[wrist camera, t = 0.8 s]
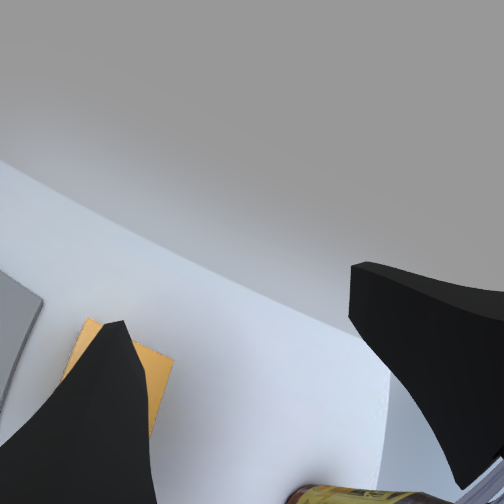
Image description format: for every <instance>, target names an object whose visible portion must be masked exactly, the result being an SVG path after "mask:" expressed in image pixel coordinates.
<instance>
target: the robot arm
mask: <svg viewBox="0 0 504 504" xmlns="http://www.w3.org/2000/svg"><path fill="white" fill-rule="evenodd" d="M348 317H349V319H350V320H351V322H352V323H353V325H354V326H355V328H356V330H357V331H358V333H359V334H360V336H361V337H362V339H363V340H364V341H365V342H366V343H367V345H368V346H369V347H370V348H371V349H372V350H373V351H374V353H375V354H376V355H377V356H378V357H379V358H380V359H381V360H382V361H383V363H384V364H385V365H386V366H387V367H388V368H389V369H390V370H391V372H392V373H393V374H394V375H395V376H396V377H397V378H398V379H399V381H401V383H402V384H403V385H404V387H405V388H406V389H407V390H408V392H409V393H410V395H411V396H412V398H413V399H414V401H415V402H416V404H417V405H418V407H419V408H420V410H421V411H422V413H423V415H424V417H425V418H426V420H427V422H428V423H429V425H430V427H431V428H432V430H433V432H434V434H435V436H436V438H437V440H438V442H439V444H440V446H441V448H442V450H443V452H444V454H445V456H446V459H447V461H448V464H449V466H450V468H451V471H452V473H453V476H454V479H455V482H456V483H457V485H458V486H459V487H460V489H461V490H464V489H465V488H466V487H468V486H469V485H470V484H471V483H472V482H474V481H475V480H476V479H477V478H478V477H479V476H480V475H482V474H483V473H484V472H485V471H486V470H487V469H488V468H489V467H490V466H491V465H492V464H493V463H494V462H495V461H496V460H497V459H498V458H499V457H500V456H501V457H502V458H503V460H502V462H500V463H499V464H498V465H497V466H496V467H495V468H494V469H493V470H492V471H491V472H490V473H489V474H488V475H487V476H486V477H485V478H484V479H483V480H481V481H480V482H479V483H478V484H477V485H476V486H475V487H474V488H472V489H471V490H470V491H469V492H468V493H466V494H465V495H464V496H463V497H462V498H460V499H459V500H458V501H456V502H455V503H454V504H486V503H487V502H488V501H489V500H490V499H491V498H492V497H493V496H494V495H495V494H497V493H498V492H499V491H500V489H502V488H503V486H504V292H500V291H489V290H483V289H477V288H471V287H465V286H460V285H456V284H452V283H447V282H443V281H439V280H436V279H432V278H428V277H425V276H421V275H418V274H414V273H411V272H407V271H404V270H400V269H397V268H393V267H390V266H386V265H382V264H377V263H373V262H363V263H359V264H356V265H352V266H351V280H350V302H349V316H348ZM0 504H157V501H156V496H155V491H154V486H153V481H152V476H151V468H150V455H149V414H148V392H147V383H146V375H145V370H144V367H143V365H142V363H141V361H140V359H139V356H138V354H137V352H136V349H135V347H134V345H133V342H132V340H131V338H130V335H129V333H128V330H127V328H126V325H125V323H124V320H122V321H117V322H112V323H107V324H104V326H103V327H102V328H101V329H100V330H99V332H98V333H97V334H96V336H95V337H94V339H93V340H92V341H91V343H90V344H89V345H88V347H87V348H86V350H85V351H84V352H83V354H82V355H81V357H80V358H79V359H78V361H77V362H76V363H75V365H74V366H73V368H72V369H71V370H70V372H69V373H68V374H67V375H66V377H65V378H64V379H63V381H62V382H61V383H60V384H59V386H58V387H57V388H56V390H55V391H54V392H53V394H52V395H51V396H50V397H49V398H48V400H47V401H46V402H45V403H44V404H43V405H42V406H41V408H40V409H39V410H38V411H37V412H36V413H35V414H34V415H33V416H32V417H31V418H30V419H29V421H28V422H27V423H26V424H24V425H23V426H22V427H21V428H20V429H19V430H18V431H17V432H16V433H15V434H14V435H13V436H12V437H11V438H10V439H9V440H7V441H6V442H5V443H4V444H3V445H2V446H1V447H0ZM491 504H504V493H503V494H502V495H501V496H500V497H498V498H497V499H496V500H495V501H494V502H492V503H491Z"/></svg>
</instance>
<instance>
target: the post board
mask: <svg viewBox="0 0 504 504" xmlns="http://www.w3.org/2000/svg"><path fill="white" fill-rule="evenodd" d="M42 306H43V299H42V298H40V297H39V296H37V295H36V294H34V293H33V292H31V291H30V290H28V289H27V288H25V287H24V286H22V285H21V284H19V283H18V282H16V281H15V280H13V279H12V278H10V277H9V276H8V275H6V274H5V273H3V272H2V271H1V270H0V412H1V409H2V406H3V402H4V399H5V396H6V393H7V390H8V387H9V384H10V382H11V379H12V376H13V373H14V371H15V368H16V365H17V363H18V360H19V358H20V355H21V353H22V350H23V348H24V345H25V343H26V341H27V338H28V336H29V334H30V332H31V329H32V327H33V325H34V323H35V321H36V318H37V316H38V314H39V312H40V310H41V308H42Z"/></svg>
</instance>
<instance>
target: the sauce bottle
mask: <svg viewBox="0 0 504 504" xmlns="http://www.w3.org/2000/svg"><path fill="white" fill-rule="evenodd" d="M494 501H495V500H494ZM494 501H492V502H494ZM492 502H490V503H486V504H491V503H492ZM287 504H454V503H451V502H447V501H445V500H442V499H439V498H436V497H434V496H431V495H429V494H426V493H424V492H392V491H375V490H364V489H353V488H344V487H336V486H329V485H308V486H305V487H303V488H300V489H299V490H298V492H296V493H295V494H294V495H292V496H291V498H290V500H289V501H288V502H287Z"/></svg>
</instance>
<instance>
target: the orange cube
mask: <svg viewBox="0 0 504 504" xmlns="http://www.w3.org/2000/svg"><path fill="white" fill-rule="evenodd" d="M102 327H103V325H101V324H100V323H98V322H96V321H94V320H92V319H90V318H89V317H88V318H87V320H86V322H85V323H84V325H83V327H82V329H81V331H80V334H79V336H78V338H77V341H76V343H75V346H74V348H73V350H72V353H71V355H70V358H69V360H68V363H67V365H66V368H65V371H64V373H63V376H62V379H61V381H60V383H61V382H62V381H63V379H64V378H65V377H66V375H67V374H68V373H69V372H70V370H71V369H72V368H73V366H74V365H75V363H76V362H77V361H78V359H79V358H80V357H81V355H82V354H83V352H84V351H85V350H86V348H87V347H88V345H89V344H90V343H91V341H92V340H93V339H94V337H95V336H96V334H97V333H98V332H99V330H100V329H101V328H102ZM132 342H133V345H134V347H135V349H136V352H137V354H138V356H139V359H140V361H141V363H142V365H143V367H144V370H145V375H146V383H147V392H148V414H149V438H150V435H151V432H152V428H153V425H154V422H155V419H156V415H157V412H158V409H159V406H160V403H161V399H162V396H163V393H164V390H165V387H166V384H167V381H168V378H169V374H170V371H171V368H172V365H173V362H174V360H173V359H171V358H169V357H166V356H164V355H162V354H160V353H158V352H155V351H153V350H151V349H149V348H147V347H145V346H143V345H141V344H139V343H137V342H134V341H132Z"/></svg>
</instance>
